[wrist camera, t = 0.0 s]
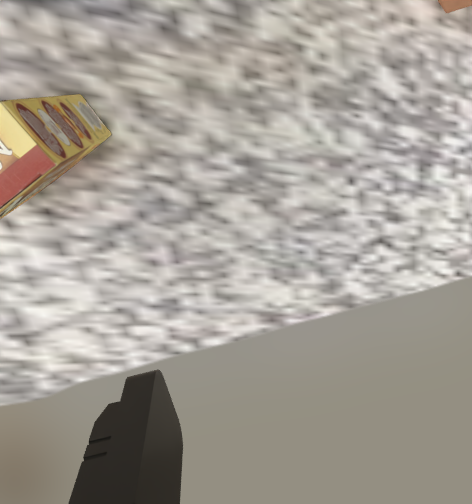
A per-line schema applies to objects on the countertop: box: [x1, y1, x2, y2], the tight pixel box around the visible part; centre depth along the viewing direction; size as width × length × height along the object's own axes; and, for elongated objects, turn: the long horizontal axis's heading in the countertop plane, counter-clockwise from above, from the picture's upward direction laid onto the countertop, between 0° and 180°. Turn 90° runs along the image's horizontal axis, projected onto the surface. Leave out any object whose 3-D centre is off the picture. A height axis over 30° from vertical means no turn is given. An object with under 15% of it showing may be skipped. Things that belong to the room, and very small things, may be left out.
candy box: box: [0, 94, 112, 219], centre depth 29 cm, size 9×4×15 cm, turn 126°
